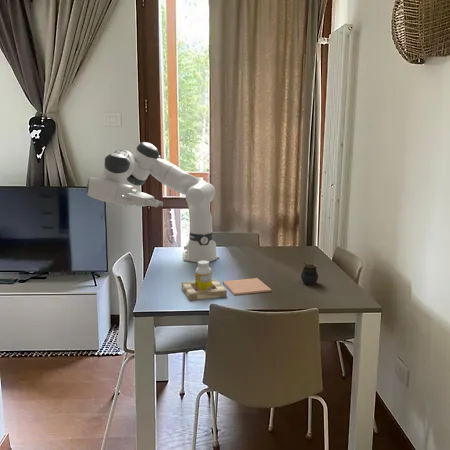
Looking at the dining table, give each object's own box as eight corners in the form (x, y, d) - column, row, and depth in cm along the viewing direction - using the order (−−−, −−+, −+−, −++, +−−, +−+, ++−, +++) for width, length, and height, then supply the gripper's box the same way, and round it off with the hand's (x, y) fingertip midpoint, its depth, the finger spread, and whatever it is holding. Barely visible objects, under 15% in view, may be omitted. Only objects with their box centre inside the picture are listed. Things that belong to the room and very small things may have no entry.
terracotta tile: (222, 283, 205) (222, 281, 204) (257, 279, 209) (257, 278, 209) (234, 295, 190) (234, 293, 190) (271, 291, 194) (271, 289, 194)
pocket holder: (181, 288, 198) (181, 282, 197) (215, 284, 202) (216, 279, 202) (189, 300, 184) (189, 294, 183) (226, 296, 188) (226, 290, 188)
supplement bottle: (195, 289, 196) (195, 259, 193) (211, 289, 197) (211, 259, 194) (195, 295, 189) (195, 264, 187) (212, 294, 190) (212, 264, 187)
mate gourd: (321, 283, 205) (322, 261, 203) (311, 287, 200) (312, 264, 198) (307, 279, 210) (308, 257, 208) (297, 283, 205) (298, 261, 203)
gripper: (121, 188, 176) (157, 197, 175) (134, 188, 196) (166, 196, 196) (117, 204, 176) (153, 213, 176) (130, 202, 197) (162, 211, 196)
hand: (160, 204), depth 186 cm, fingers open, 8 cm apart
